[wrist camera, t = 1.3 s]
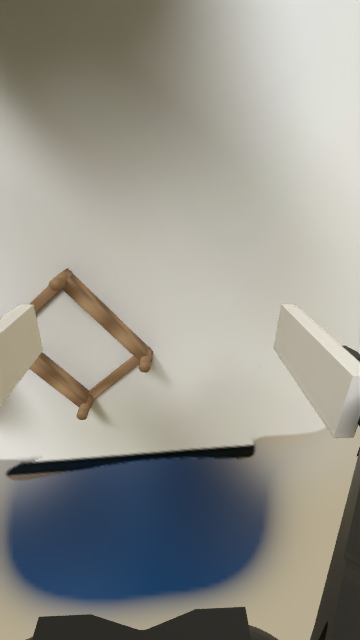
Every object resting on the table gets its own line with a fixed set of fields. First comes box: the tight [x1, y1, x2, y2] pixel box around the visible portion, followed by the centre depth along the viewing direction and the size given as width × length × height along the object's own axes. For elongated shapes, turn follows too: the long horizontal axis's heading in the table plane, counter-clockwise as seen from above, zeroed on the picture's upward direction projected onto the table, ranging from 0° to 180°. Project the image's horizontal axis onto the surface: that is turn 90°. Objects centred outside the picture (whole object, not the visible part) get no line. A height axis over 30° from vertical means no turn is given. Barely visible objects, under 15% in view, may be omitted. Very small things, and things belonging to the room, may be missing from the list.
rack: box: [29, 269, 153, 420], centre depth 44 cm, size 18×15×5 cm
